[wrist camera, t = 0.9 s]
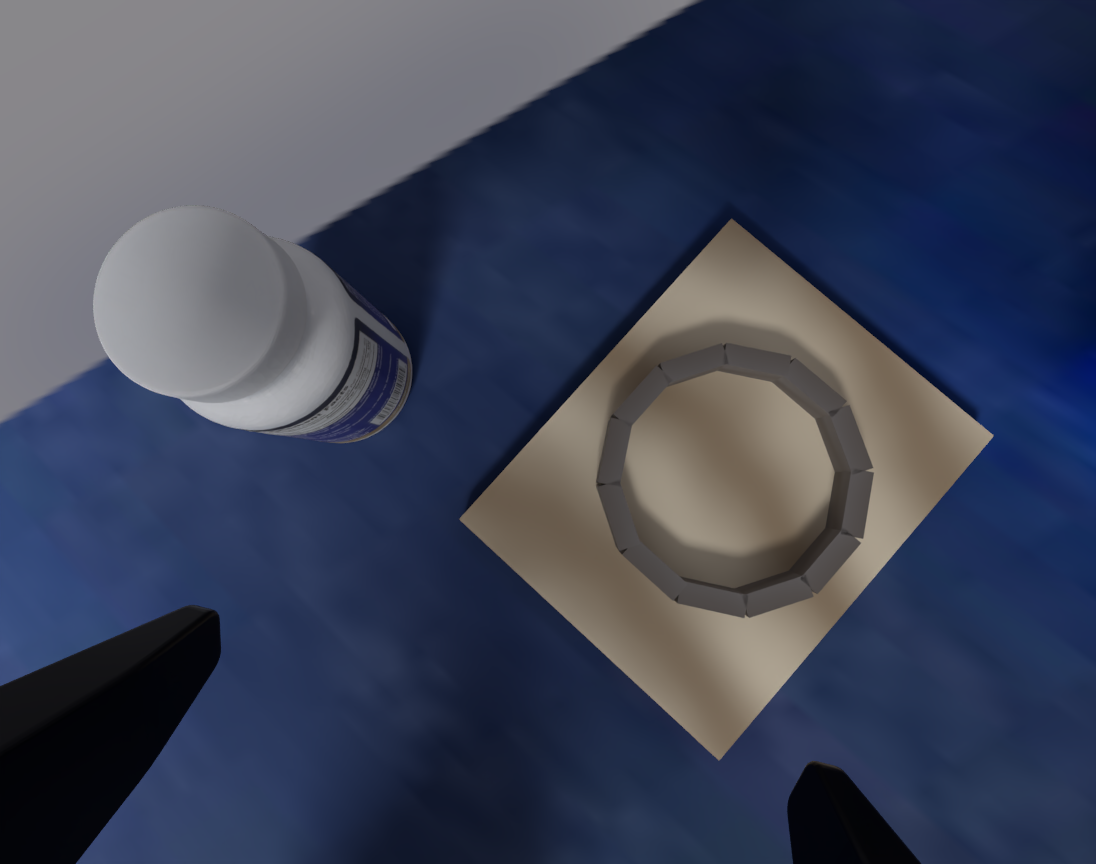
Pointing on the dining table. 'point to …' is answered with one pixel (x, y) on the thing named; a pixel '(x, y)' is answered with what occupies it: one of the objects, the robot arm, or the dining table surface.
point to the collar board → (725, 485)
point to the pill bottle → (248, 329)
